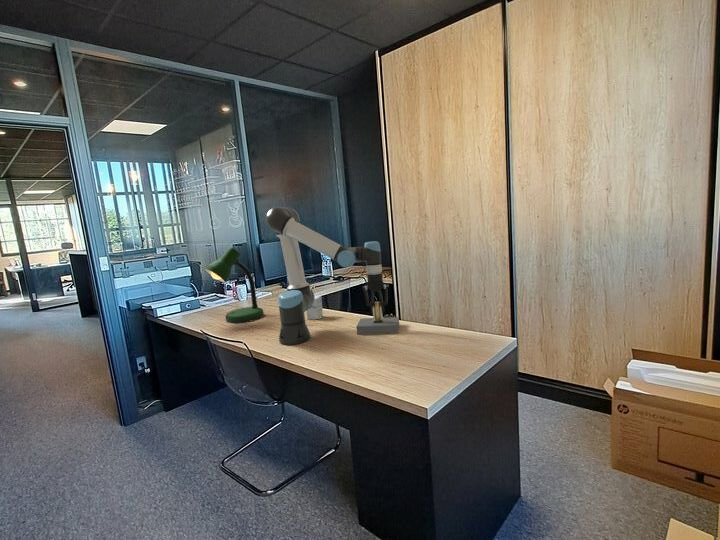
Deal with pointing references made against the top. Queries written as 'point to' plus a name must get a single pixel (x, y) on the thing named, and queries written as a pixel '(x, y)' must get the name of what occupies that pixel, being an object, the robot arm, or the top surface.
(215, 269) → the desk lamp
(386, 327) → the bore block
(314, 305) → the supplement box
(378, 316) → the brass pin
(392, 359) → the top surface
